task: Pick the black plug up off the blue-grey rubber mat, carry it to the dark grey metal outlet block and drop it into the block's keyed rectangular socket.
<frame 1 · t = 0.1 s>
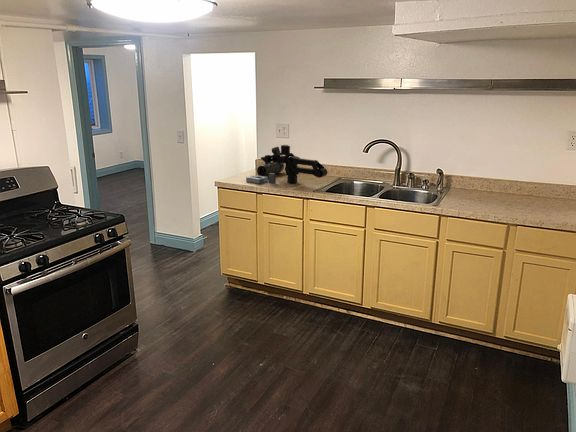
hand: (264, 157, 352), 17 cm above the worktop, tool horizontal, fingers open, 9 cm apart
outlet block: (257, 182, 344), on the worktop
mat: (272, 184, 340), on the worktop
plug: (272, 183, 340), point 1 cm above the worktop, touching mat
muzzle brake: (271, 175, 371), on the worktop
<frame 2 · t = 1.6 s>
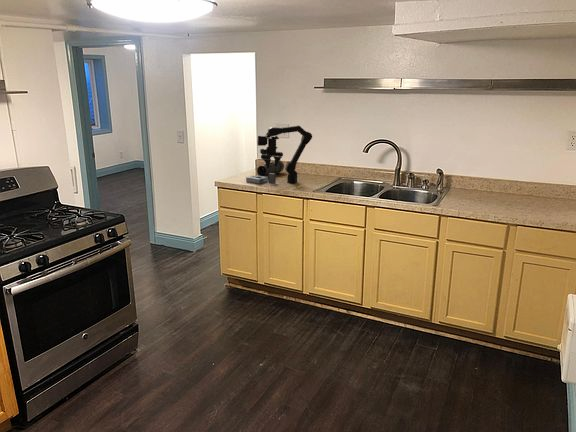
hand: (272, 167, 337), 12 cm above the worktop, tool pointing down, fingers open, 9 cm apart
nothing on the worktop moved.
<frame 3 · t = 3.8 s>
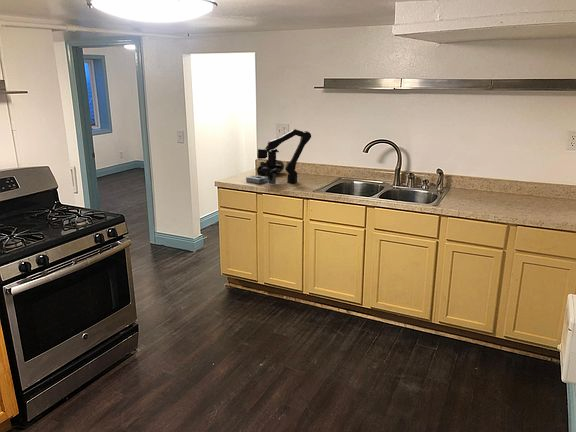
hand: (272, 180, 340), 3 cm above the worktop, tool pointing down, fingers closed on plug, 3 cm apart
plug: (272, 183, 340), point 1 cm above the worktop, touching gripper, mat
everything else where it was.
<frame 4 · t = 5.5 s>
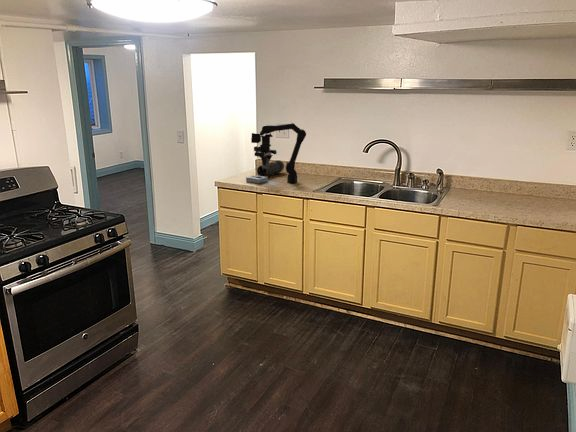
hand: (265, 165, 338), 13 cm above the worktop, tool pointing down, fingers closed on plug, 3 cm apart
plug: (265, 168, 339), point 11 cm above the worktop, touching gripper
everything else where it was.
when the fingers open (5 cm above the worktop, at t = 7.6 s): plug drops 2 cm, resting on outlet block.
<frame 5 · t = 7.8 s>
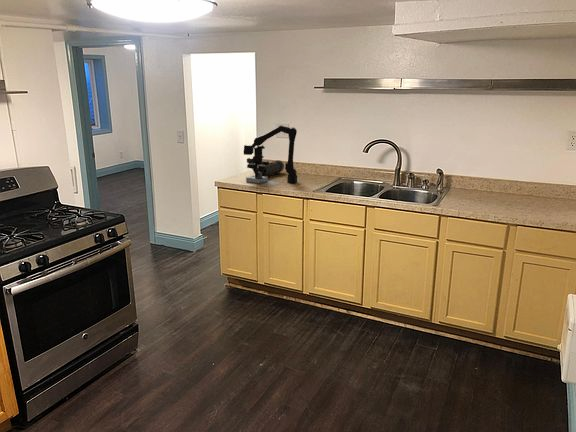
hand: (258, 176, 342), 5 cm above the worktop, tool pointing down, fingers open, 5 cm apart
plug: (258, 181, 343), point 1 cm above the worktop, touching outlet block
everything else where it was.
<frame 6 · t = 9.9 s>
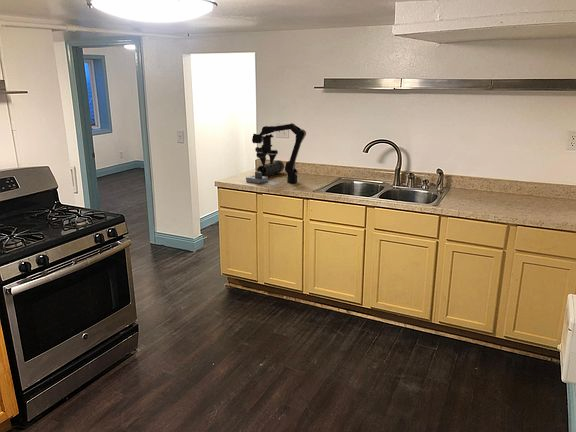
hand: (267, 165, 344), 12 cm above the worktop, tool pointing down, fingers open, 9 cm apart
nothing on the worktop moved.
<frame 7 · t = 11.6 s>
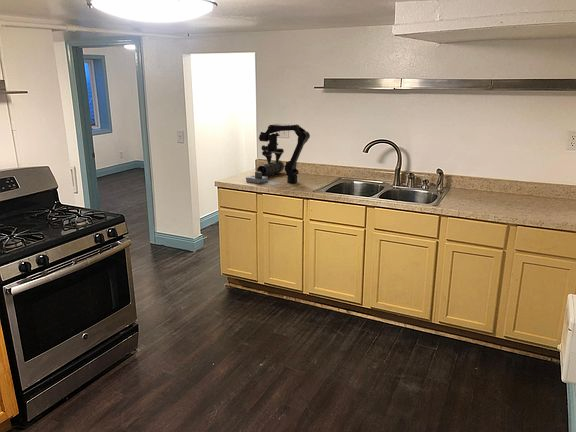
hand: (273, 163, 346), 13 cm above the worktop, tool pointing down, fingers open, 9 cm apart
nothing on the worktop moved.
at the end: plug 0.0 cm from the target spot on the outlet block, point 1.0 cm above the outlet block's base; plug tilted 0°; the gripper is holding nothing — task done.
